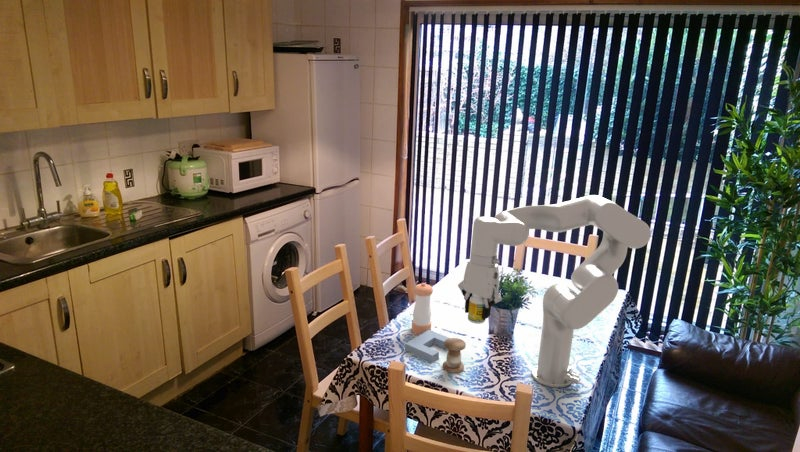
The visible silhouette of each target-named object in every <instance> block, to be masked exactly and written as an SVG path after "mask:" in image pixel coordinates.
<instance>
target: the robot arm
mask: <svg viewBox="0 0 800 452" xmlns="http://www.w3.org/2000/svg"><path fill="white" fill-rule="evenodd" d="M587 226H594V227H595V228H597V229H599V230H600V231H602V233H603V234H602V240H601V242H600V244H599V246H598V247H597V249H595V250H594V251H593V252H592V253H591V254H590V255H589V256H588V257H587V258H586V259H585V260H583V262H582V263H581V264H580V265H578V266H577V267H576V268H575V269H574V270H573V272H572V273H571V276H570V278H571V283H572V285H573V286H574V287H575V288H576V289H577V290H578V291H579V293H578V294H577V292H575V290H573V289H572V288H570V287H568V286H567V285H565V284H560V283H558V284H557V283H556V284H552V285H551V286H549V287H548V288H547V289H546V290H545V292H544V294H543V297H542V313H543V314H542V317H543V318H542V327H541V335H540V343H539V351H538V360H537V361H538V362H537V365H534V366H533V368H532V369H531V376H532V378H533V380H534V381H536V382H537V383H539V384H540V385H543V386H545V387H550V388H557V389H559V387H560V388H565V387H568V386H569V385H571V383H572V384H575V385H578V386H579V384H580V382H581V381H580V380H581V379H580V378H579V377H580V375H579V374H578V373H574V372H573V371H572V366H570V359H571V351H572V344H573V339H574V338H573V337H574V333H575V331H576V330H580V329H582V328H584V327H585V326H587V325H588V324H590V323H591V322H592V321H593V320H594V319H595V318H596V317H597V316H598V315H600V314H601V313H602V312H604V310H605V309H607V307H609V306H610V304H612V303H613V301H614V300H615V299H616V297H617V296H618V292H619V282H618V281H617V279H616V277H614V276H613V274H615V272H616V271H617V270H618V269H619V268H620V267H621V266H622V265H623V263H624V261H625V259H626V257H627V255H628V248H629V249H641V248H643V247H646V245H647V244H648V243H649V242H650V239H651V237H652V233H651V232H652V231H651V228H650V226H649V225H648V223H646V222H645V221H643V220H642V219H640V218H639V217H637V216H636V215H634V214H632V213H630V212H629V211H627V210H626V209H624V208H623V207H621V206H620V205H618V204H617V203H616V202H614V201H611V200H610V199H607V198H605V197H603V196H601V195H597V194H590V195H586V196H581V197H579V198H574V199H571V200H566V201H562V202H559V203H554V204H542V205H541V204H540V205H538V204H537V205H527V206H526V205H525V206H519V207H514V208H510V209H507V210H504V211H501V212H499V213H497V214H496V215H495V216H494V217H492V216H486V215H485V216H484V215H483V216H477V217H476V218H475V219H474V221H473V228H472V229H473V230H472V237H471V246H470V258H469V259H468V261H467V262H466V263H467V264H466V267H465V271H464V273H463V274H464V275H463V280H461V281H460V283H458V284H457V287H458V288H459V290H460V291H461V294H462V295H463V299H464V300H465V302H464V312H465V314H467V313H468V311H469V301H470V297H471V296H473V295H472V294H476V295H478V296H480V297H483V298H484V304H485V307H483V312H482V319H483V320H485V321H486V319H488V318H489V317H490V316H491V311H492V306H493V305H495V304H497V303H500V302H501V301H502V300H503V298H502V296H501V293H500V292H499V287H500V271H499V264H500V259H499V258H498V247H499V245H504V246H510V247H517V246H521V245H523V244H525V243H526V242H527V240H528V238H529V235H530V234H529V230H542V231H546V232H550V233H564V232H568V231H571V230H575V229H578V228H582V227H587ZM493 297H494V299H493ZM574 330H575V331H574Z"/></svg>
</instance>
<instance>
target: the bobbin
mask: <svg viewBox="0 0 800 452" xmlns="http://www.w3.org/2000/svg"><path fill="white" fill-rule="evenodd" d="M448 338H449V339H446V340H445V341H444V346H445V347H446V348H447V349H448V350H447V349H446V350H447V351H446V360H444V362H443V363H442V370H443V371H444V372H447V373H449V374H460V373H462V372H463V371H464V370H465V368H464V367H465V365H464V364H463V362H462V352H461V351H462V350H463V351H464V350H465V349H466V345H467V344H466V341H464V340H463V339H460V338H458V337H457V338H456V337H448Z"/></svg>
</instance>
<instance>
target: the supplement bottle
mask: <svg viewBox="0 0 800 452" xmlns="http://www.w3.org/2000/svg"><path fill="white" fill-rule="evenodd" d="M472 295H473V296H471V297H470V301H469V311H468V314H467V320H468V322H470V323H472V324H478V325H479V324H484V323H485V321H486V319H485V320H483V319H482V312H483V307H485V304H484V298H483V297H480V296H478V295H476V294H472Z"/></svg>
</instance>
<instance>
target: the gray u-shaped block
mask: <svg viewBox="0 0 800 452" xmlns="http://www.w3.org/2000/svg"><path fill="white" fill-rule="evenodd" d="M449 338H450V337H448V336H447V335H446V336H445V335H443V334H441V333H439V332H436V331H434V330H432V329H431V330H428V331H426V332H424V333H422V334H421V335H418V336H415V337H414V338H412V339H410V340H409V341H407V342H405V344H404V350H405V351H406V352H408V353H411V354H412V355H415V356H417V357H420V358H422V359H424V360H426V361H428V362H430V363H434V362H435V361H437V360H438V359H439V356H440V351H438V350H436V349H433V348H431V347H432V346H433V345H436V346H438V347H441V348H443V349H445V350H447V351H448V349H447V348H446V347H445V346H444V341H445V340H446V339H449Z"/></svg>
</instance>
